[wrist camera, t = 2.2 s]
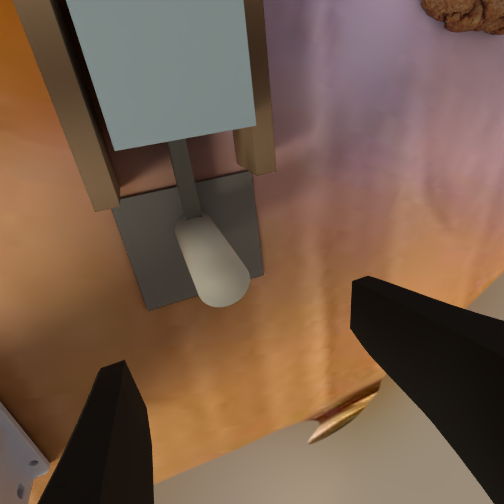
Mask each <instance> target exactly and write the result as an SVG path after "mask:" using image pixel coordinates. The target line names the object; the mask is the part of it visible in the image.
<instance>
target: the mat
mask: <svg viewBox="0 0 504 504" xmlns="http://www.w3.org/2000/svg"><path fill="white" fill-rule="evenodd" d="M195 186H196V191H197V195H198V200H199V205H200V210H201V212H204V213H206V214H207V215H208V216H209V217H210V218H211V219H212V221H213V222H214V223H215V225H216V226H217V228H218V229H219V230H220V232H221V233H222V234H223V236H224V237H225V239H226V240H227V241H228V243H229V244H230V246H231V247H232V248H233V250H234V251H235V253H236V254H237V255H238V257H239V258H240V260H241V261H242V262H243V264H244V265H245V267H246V268H247V270H248V271H249V274H250V279H252V278H256V277H259V276H262V275H264V273H263V264H262V256H261V248H260V239H259V231H258V222H257V214H256V205H255V197H254V188H253V180H252V172H250V171H244V172H239V173H234V174H230V175H225V176H221V177H216V178H211V179H207V180H202V181H198V182H195ZM111 209H112V212H113V215H114V218H115V220H116V223H117V226H118V229H119V231H120V234H121V237H122V240H123V243H124V245H125V248H126V251H127V254H128V257H129V259H130V262H131V265H132V268H133V270H134V273H135V276H136V279H137V282H138V284H139V287H140V290H141V293H142V295H143V298H144V301H145V304H146V307H147V309H148V311H150V310H153V309H156V308H159V307H163V306H166V305H169V304H172V303H175V302H179V301H182V300H185V299H188V298H191V297H195V296H198V292H197V290H196V287H195V285H194V282H193V279H192V277H191V274H190V272H189V269H188V266H187V264H186V261H185V259H184V256H183V253H182V251H181V248H180V246H179V243H178V240H177V238H176V235H175V225H176V223H177V221H178V219H179V218H180V217H181V216H182V215H184V212H183V208H182V204H181V200H180V196H179V191H178V187H177V186H175V187H170V188H165V189H161V190H156V191H152V192H147V193H142V194H138V195H133V196H129V197H124V198H120V207H116V208H111Z"/></svg>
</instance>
